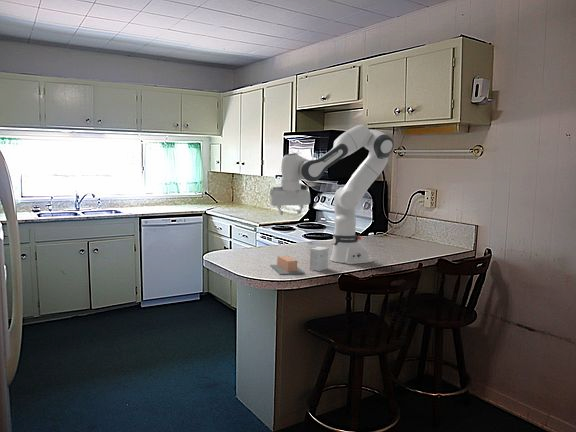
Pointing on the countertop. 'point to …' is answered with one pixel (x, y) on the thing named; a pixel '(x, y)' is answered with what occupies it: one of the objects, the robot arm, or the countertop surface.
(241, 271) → the countertop surface
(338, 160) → the robot arm
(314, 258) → the small box
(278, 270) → the mat
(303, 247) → the countertop surface
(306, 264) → the countertop surface
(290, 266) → the terracotta block
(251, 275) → the countertop surface
